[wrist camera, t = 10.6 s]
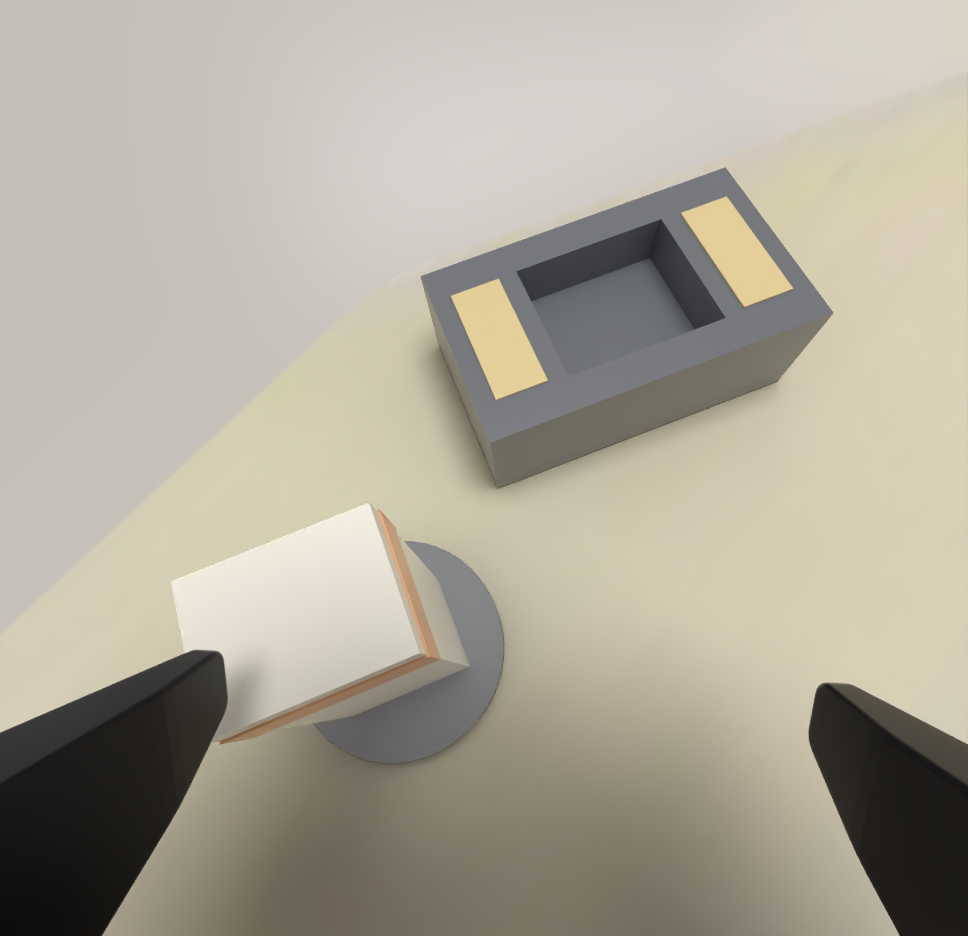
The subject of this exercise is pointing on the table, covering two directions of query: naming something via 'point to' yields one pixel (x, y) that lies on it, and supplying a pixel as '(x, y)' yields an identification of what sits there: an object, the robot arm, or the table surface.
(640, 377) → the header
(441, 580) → the coaster
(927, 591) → the table surface
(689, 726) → the table surface
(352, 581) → the plug
